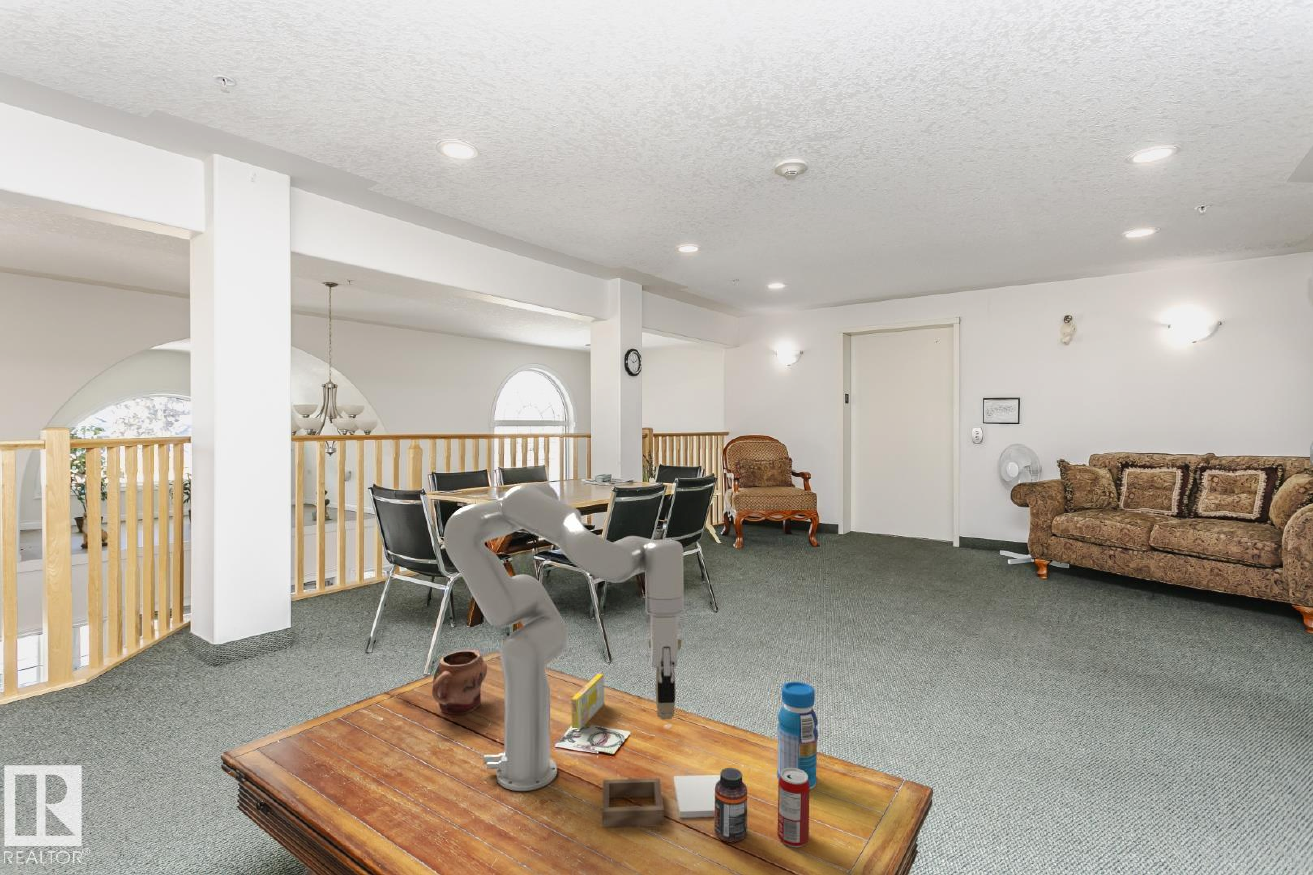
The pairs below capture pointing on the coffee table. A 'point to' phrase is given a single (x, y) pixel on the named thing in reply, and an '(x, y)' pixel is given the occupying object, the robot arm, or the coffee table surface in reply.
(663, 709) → the handle
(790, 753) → the beverage bottle
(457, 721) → the coffee table surface
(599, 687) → the candy box
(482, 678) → the brown clay mug
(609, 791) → the socket frame
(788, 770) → the soda can
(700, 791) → the plate
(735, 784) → the supplement bottle
